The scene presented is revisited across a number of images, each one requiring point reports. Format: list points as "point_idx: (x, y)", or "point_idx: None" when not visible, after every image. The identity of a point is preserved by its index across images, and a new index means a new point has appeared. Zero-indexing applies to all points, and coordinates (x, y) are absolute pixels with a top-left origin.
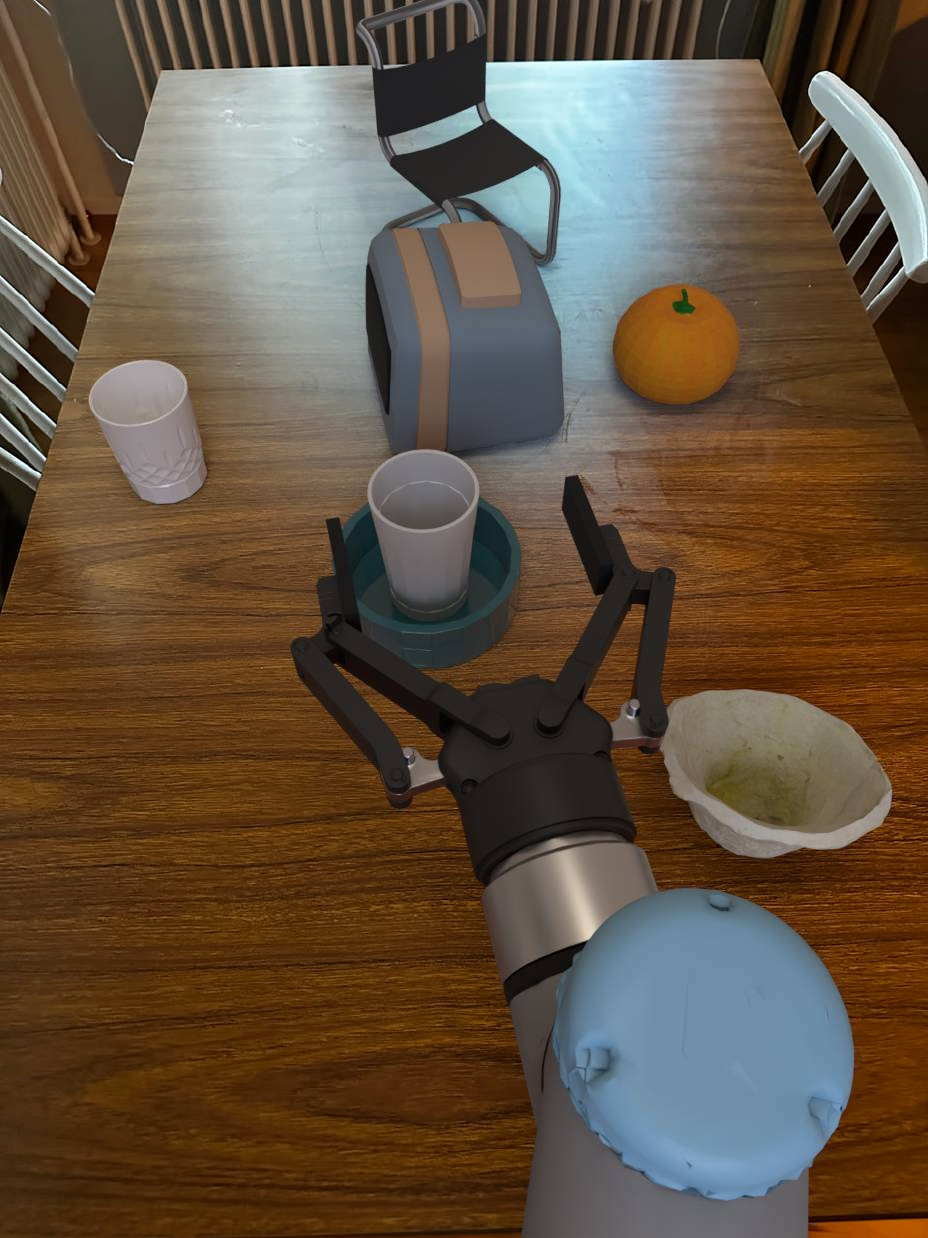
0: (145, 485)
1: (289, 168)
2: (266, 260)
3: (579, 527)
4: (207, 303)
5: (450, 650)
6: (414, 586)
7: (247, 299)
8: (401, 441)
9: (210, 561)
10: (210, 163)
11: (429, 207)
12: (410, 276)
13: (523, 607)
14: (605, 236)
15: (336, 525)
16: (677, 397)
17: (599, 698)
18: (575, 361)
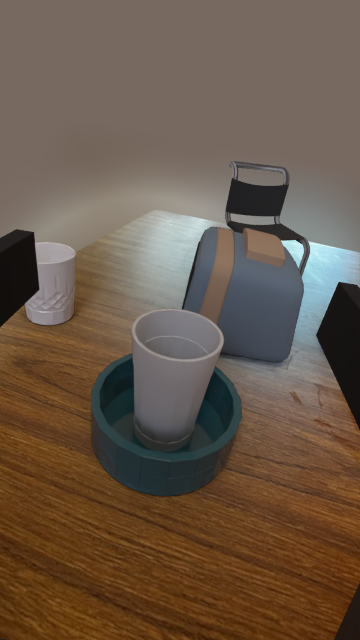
0: (29, 307)
1: (184, 238)
2: (157, 257)
3: (355, 341)
4: (122, 262)
5: (155, 480)
6: (147, 412)
7: (140, 266)
8: None
9: (36, 359)
10: (153, 229)
11: None
12: (220, 238)
13: (230, 466)
14: (323, 292)
15: (21, 235)
16: None
17: (280, 590)
18: (299, 333)
